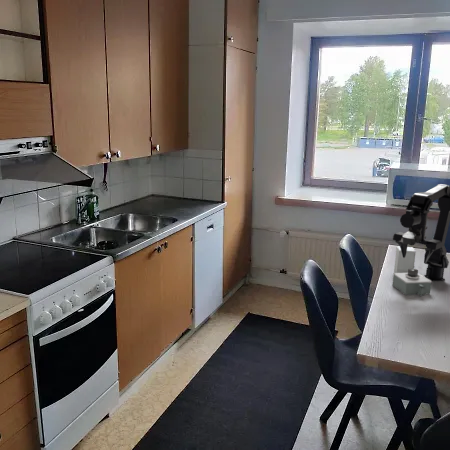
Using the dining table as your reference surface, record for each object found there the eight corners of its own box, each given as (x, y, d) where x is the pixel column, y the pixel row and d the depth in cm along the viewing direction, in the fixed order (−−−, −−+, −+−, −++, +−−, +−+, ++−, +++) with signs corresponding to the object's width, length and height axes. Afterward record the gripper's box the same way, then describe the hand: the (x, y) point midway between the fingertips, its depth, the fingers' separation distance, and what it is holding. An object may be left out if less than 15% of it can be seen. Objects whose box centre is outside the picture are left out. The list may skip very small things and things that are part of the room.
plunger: (414, 284, 204) (417, 266, 202) (425, 291, 196) (427, 273, 194) (396, 284, 203) (398, 267, 201) (406, 292, 195) (408, 273, 193)
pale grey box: (415, 284, 206) (417, 272, 205) (434, 296, 193) (435, 283, 191) (392, 285, 204) (393, 273, 203) (409, 297, 191) (410, 285, 190)
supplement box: (413, 278, 213) (416, 251, 210) (395, 276, 215) (398, 250, 212) (410, 272, 220) (413, 246, 217) (393, 271, 222) (396, 245, 219)
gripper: (387, 222, 195) (383, 258, 198) (431, 231, 181) (426, 270, 185) (401, 218, 202) (397, 253, 206) (444, 227, 188) (439, 264, 192)
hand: (414, 260), depth 197 cm, fingers open, 9 cm apart
